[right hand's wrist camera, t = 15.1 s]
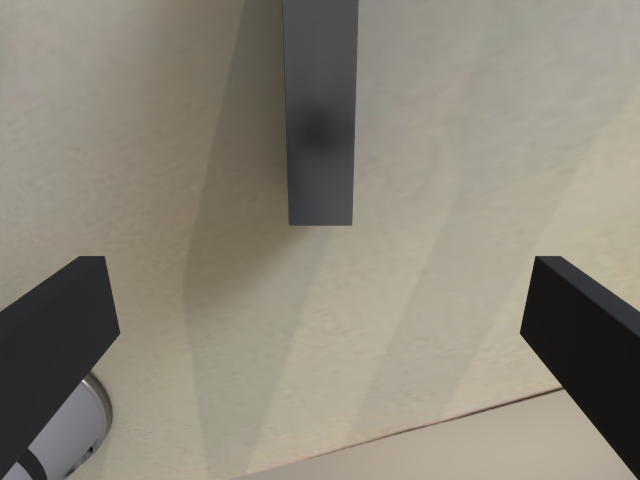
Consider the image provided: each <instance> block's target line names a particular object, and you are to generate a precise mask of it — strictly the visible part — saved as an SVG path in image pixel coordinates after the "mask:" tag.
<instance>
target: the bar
mask: <svg viewBox="0 0 640 480" xmlns="http://www.w3.org/2000/svg"><path fill="white" fill-rule="evenodd" d="M282 8H283V41H284V75H285V108H286V141H287V174H288V208H289V225H290V226H351V225H352V211H353V176H354V141H355V105H356V70H357V35H358V0H282Z"/></svg>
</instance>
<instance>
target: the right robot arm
mask: <svg viewBox="0 0 640 480" xmlns="http://www.w3.org/2000/svg"><path fill="white" fill-rule="evenodd" d="M119 334H120V330H119V325H118V320H117V315H116V310H115V305H114V300H113V295H112V290H111V285H110V281H109V276H108V271H107V266H106V261H105V256H79V257H77V258H76V259H75V260H73V261H72V262H70V263H69V264H68V265H66V266H65V267H63V268H62V269H60V270H59V271H58V272H56V273H55V274H53V275H52V276H51V277H49V278H48V279H46V280H45V281H43V282H42V283H41V284H39V285H38V286H36V287H35V288H33V289H32V290H31V291H29V292H28V293H26V294H25V295H24V296H22V297H21V298H19V299H18V300H16V301H15V302H14V303H12V304H11V305H9V306H8V307H7V308H5V309H4V310H2V311H1V312H0V480H64V479H65V478H66V477H67V478H68V477H70V476H71V475H72V474H73V473H74V472H75V471H76V470H77V469H78V467H79V466H80V465H81V464H82V463H84V462H85V461H86V460H87V459H88V458H90V457H91V456H92V455H93V454H94V453H95V452H96V451H97V449H98V448H99V447H100V445H101V443H102V442H103V440H104V438H105V437H106V435H107V433H108V431H109V429H110V427H111V423H112V406H111V402H110V399H109V397H108V394H107V393H106V391H105V389H104V387H103V386H102V384H101V383H100V382H99V381H98V379H97V378H96V377H95V376H94V375H93V374H92V373H91V372H90V370H91V369H92V368H93V367H94V365H95V364H96V363H97V362H98V360H99V359H100V358H101V357H102V355H103V354H104V353H105V352H106V351H107V349H108V348H109V347H110V346H111V344H112V343H113V342H114V341H115V339H116V338H117V337H118V336H119ZM520 334H521V336H522V337H523V338H524V339H525V341H526V342H527V343H528V344H529V346H530V347H531V348H532V349H533V351H534V352H535V353H536V354H537V355H538V357H539V358H540V359H541V360H542V362H543V363H544V364H545V365H546V367H547V368H548V369H549V370H550V372H551V373H552V374H553V375H554V376H555V378H556V379H557V380H558V381H559V383H560V384H561V385H562V386H563V388H564V389H565V390H566V391H567V393H568V394H569V395H570V396H571V397H572V399H573V400H574V401H575V402H576V404H577V405H578V406H579V407H580V409H581V410H582V411H583V412H584V414H585V415H586V416H587V417H588V418H589V420H590V421H591V422H592V423H593V425H594V426H595V427H596V428H597V430H598V431H599V432H600V433H601V435H602V436H603V437H604V438H605V439H606V441H607V442H608V443H609V444H610V446H611V447H612V448H613V449H614V451H615V452H616V453H617V454H618V456H619V457H620V458H621V459H622V460H623V462H624V463H625V464H626V465H627V467H628V468H629V469H630V470H631V472H632V473H633V474H634V475H635V477H636V478H637V479H638V480H640V312H639V311H638V310H636V309H635V308H633V307H632V306H631V305H629V304H628V303H626V302H625V301H624V300H622V299H621V298H619V297H618V296H616V295H615V294H614V293H612V292H611V291H609V290H608V289H607V288H605V287H604V286H602V285H601V284H599V283H598V282H597V281H595V280H594V279H592V278H591V277H589V276H588V275H587V274H585V273H584V272H582V271H581V270H580V269H578V268H577V267H575V266H574V265H572V264H571V263H570V262H568V261H567V260H565V259H564V258H563V257H561V256H535V261H534V266H533V271H532V276H531V281H530V285H529V290H528V295H527V300H526V305H525V310H524V315H523V320H522V325H521V330H520ZM73 471H74V472H73ZM72 472H73V473H72ZM71 473H72V474H71ZM70 474H71V475H70ZM69 475H70V476H69ZM67 478H66V479H67ZM66 479H65V480H66Z"/></svg>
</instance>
